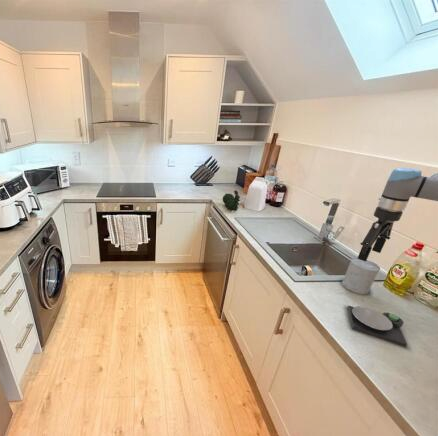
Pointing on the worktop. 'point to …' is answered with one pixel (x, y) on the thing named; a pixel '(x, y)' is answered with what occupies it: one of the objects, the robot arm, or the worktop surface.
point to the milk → (256, 195)
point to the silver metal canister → (360, 275)
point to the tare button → (393, 317)
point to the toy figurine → (231, 201)
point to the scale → (389, 335)
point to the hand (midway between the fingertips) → (369, 255)
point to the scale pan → (372, 318)
